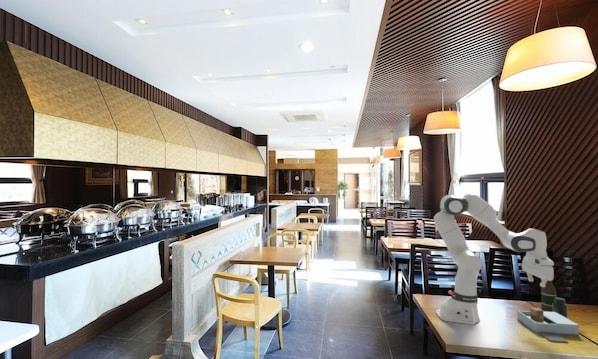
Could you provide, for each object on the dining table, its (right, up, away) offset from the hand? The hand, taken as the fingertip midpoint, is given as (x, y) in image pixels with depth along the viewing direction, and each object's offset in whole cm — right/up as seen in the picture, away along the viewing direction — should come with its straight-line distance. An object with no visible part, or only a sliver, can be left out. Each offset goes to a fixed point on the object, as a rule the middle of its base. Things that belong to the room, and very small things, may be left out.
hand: (536, 283), depth 162 cm
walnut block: (0, -20, -1) cm, 20 cm away
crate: (+4, -23, -1) cm, 24 cm away
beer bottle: (+24, -24, +21) cm, 40 cm away
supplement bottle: (+21, -24, +9) cm, 33 cm away
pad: (-2, -23, -13) cm, 26 cm away
